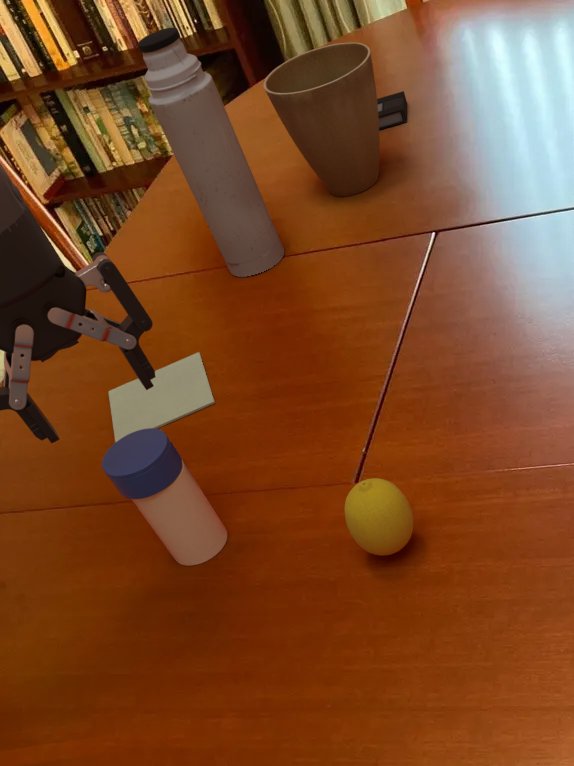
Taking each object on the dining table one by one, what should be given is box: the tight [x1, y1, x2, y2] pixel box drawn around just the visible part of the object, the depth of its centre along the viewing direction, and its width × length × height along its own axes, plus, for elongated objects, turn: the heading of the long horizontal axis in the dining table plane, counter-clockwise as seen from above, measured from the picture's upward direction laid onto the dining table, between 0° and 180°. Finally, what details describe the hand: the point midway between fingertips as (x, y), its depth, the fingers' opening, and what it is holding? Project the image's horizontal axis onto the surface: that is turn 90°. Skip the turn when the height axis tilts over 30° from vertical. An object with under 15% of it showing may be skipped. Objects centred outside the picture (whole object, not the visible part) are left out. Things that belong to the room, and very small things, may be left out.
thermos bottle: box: [137, 26, 285, 278], centre depth 110 cm, size 8×8×28 cm
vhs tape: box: [377, 91, 408, 131], centre depth 141 cm, size 8×14×2 cm, turn 91°
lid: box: [101, 428, 183, 500], centre depth 76 cm, size 6×6×3 cm
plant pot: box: [262, 41, 380, 197], centre depth 122 cm, size 15×15×16 cm
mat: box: [108, 351, 216, 444], centre depth 103 cm, size 12×12×1 cm
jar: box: [130, 459, 228, 567], centre depth 80 cm, size 6×6×12 cm
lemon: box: [344, 477, 414, 556], centre depth 74 cm, size 6×6×8 cm
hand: (101, 410), depth 72 cm, fingers open, 8 cm apart
